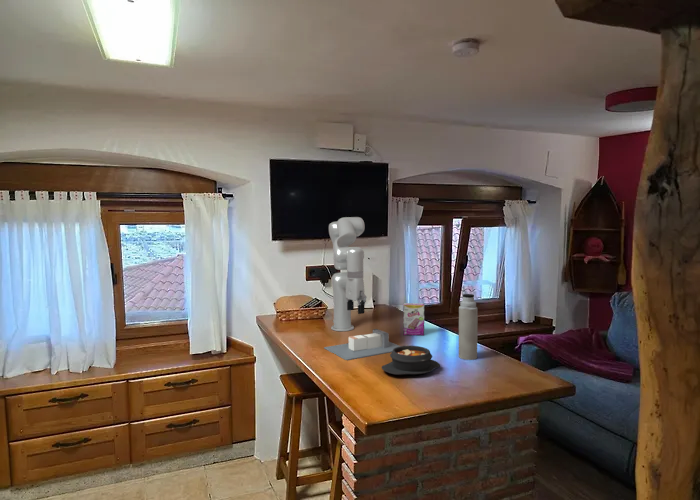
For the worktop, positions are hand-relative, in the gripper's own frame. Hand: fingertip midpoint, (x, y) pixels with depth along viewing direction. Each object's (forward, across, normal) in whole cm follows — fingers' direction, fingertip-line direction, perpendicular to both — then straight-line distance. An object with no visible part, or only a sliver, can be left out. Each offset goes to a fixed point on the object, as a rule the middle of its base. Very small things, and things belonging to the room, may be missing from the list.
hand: (355, 311), depth 214 cm
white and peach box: (+18, 0, +1) cm, 18 cm away
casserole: (+19, +36, +5) cm, 41 cm away
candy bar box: (+18, -9, +41) cm, 46 cm away
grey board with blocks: (+18, 0, +5) cm, 19 cm away
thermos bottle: (+19, +35, +37) cm, 54 cm away
